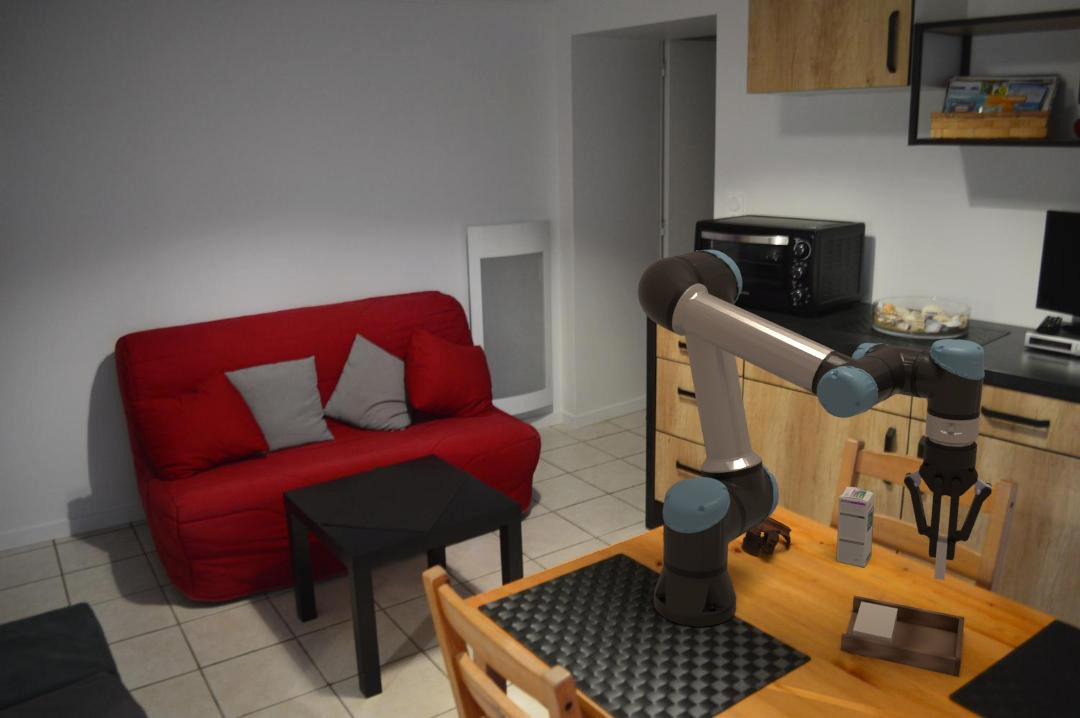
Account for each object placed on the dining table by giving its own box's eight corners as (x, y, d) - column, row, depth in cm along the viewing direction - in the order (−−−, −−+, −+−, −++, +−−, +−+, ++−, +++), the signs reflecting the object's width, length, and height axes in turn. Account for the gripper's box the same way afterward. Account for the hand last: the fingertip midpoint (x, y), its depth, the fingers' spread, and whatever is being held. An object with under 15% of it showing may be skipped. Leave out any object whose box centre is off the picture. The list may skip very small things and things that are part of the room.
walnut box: (840, 656, 150) (841, 635, 149) (852, 615, 162) (854, 595, 161) (958, 683, 142) (960, 661, 141) (962, 637, 154) (964, 617, 153)
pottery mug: (734, 542, 192) (750, 507, 192) (773, 561, 192) (790, 526, 192) (746, 554, 180) (764, 517, 180) (789, 574, 180) (806, 537, 180)
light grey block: (851, 646, 150) (852, 630, 150) (860, 616, 159) (861, 601, 158) (889, 654, 148) (891, 638, 147) (896, 624, 156) (897, 608, 155)
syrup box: (865, 568, 178) (869, 500, 174) (834, 561, 181) (838, 495, 177) (871, 556, 183) (876, 490, 179) (842, 549, 186) (845, 485, 182)
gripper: (903, 441, 139) (894, 578, 145) (997, 452, 134) (983, 594, 140) (908, 426, 146) (899, 558, 152) (997, 436, 140) (984, 572, 146)
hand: (939, 575), depth 146 cm, fingers closed
